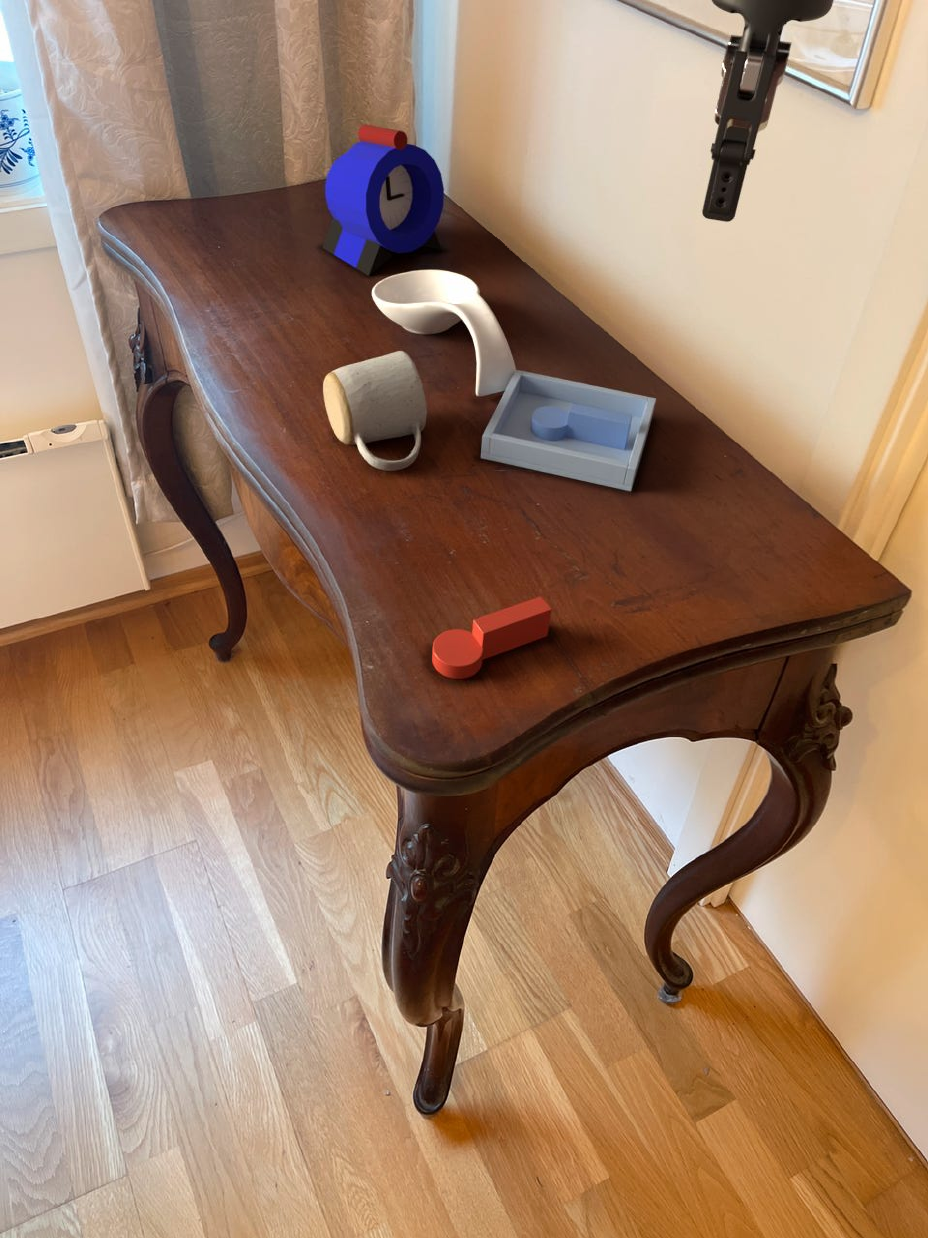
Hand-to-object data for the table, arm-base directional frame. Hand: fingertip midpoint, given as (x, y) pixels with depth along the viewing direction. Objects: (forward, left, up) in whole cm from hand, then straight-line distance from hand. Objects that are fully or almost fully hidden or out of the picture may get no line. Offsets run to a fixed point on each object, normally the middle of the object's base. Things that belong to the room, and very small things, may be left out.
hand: (723, 195), depth 67 cm
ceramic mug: (+26, 0, -28) cm, 38 cm away
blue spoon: (+8, -7, -27) cm, 29 cm away
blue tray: (+9, -7, -27) cm, 30 cm away
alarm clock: (+41, -40, -28) cm, 63 cm away
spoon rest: (+26, -20, -28) cm, 42 cm away
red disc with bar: (+9, +23, -27) cm, 37 cm away
